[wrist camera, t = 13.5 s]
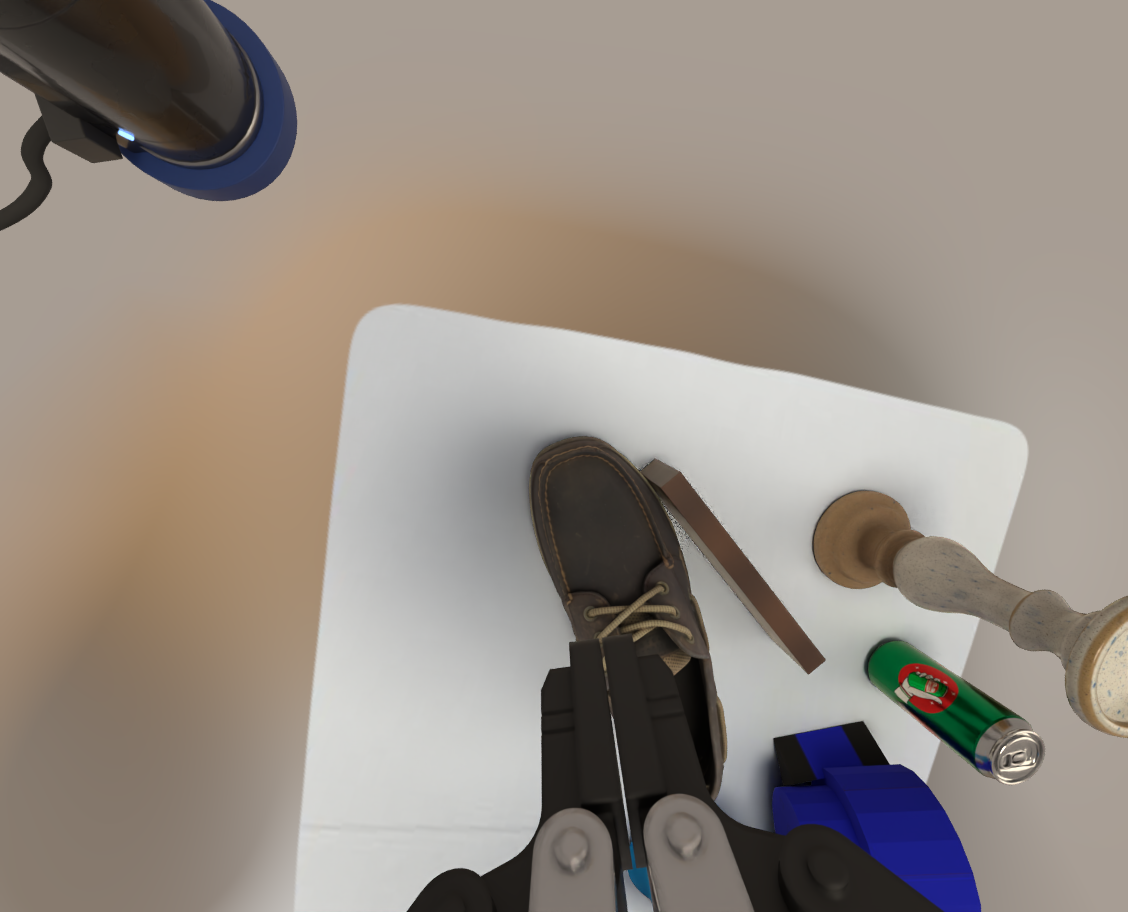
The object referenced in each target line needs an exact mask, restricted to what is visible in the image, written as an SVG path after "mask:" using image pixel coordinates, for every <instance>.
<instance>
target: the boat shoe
mask: <svg viewBox="0 0 1128 912" xmlns="http://www.w3.org/2000/svg"><path fill="white" fill-rule="evenodd" d="M529 497H530V508H531V516H532V521H533V527H534V531H535V536H536V539H537V543H538V546H539V550H540V553H541V556H542V559H543V561H544V563H545V566H546V568H547V570H548V572H549V574H550V576H551V578H552V580H553V583H554V585H555V588H556V590H557V592H558V594H559V596H560V597H561V600H562V603H563V606H564V609H565V611H566V612H567V615H568V617H569V619H570V621H571V624H572V628H573V631H574V634H575V636H576V641H582V640H589V639H596V638H599V641H600V647H601V654H602V660H603V667H604V673H605V680H606V686H607V693H608V700H609V706H610V712H611V714H612V716H613V710H612V703H611V697H610V690H609V683H608V676H607V670H606V663H605V656H604V650H603V643H602V637H609V636H616V635H623V634H630V633H631V634H632V637H633V641H634V645H635V650H636V654H637V657H640V656H647V655H654V654H659V656H660V657H661V658H662V659H663V660H664V662H665V663H666V664H667V665H668V666H669V668H670V669H671V670H672V671H673V675H674V678H675V682H676V685H677V688H678V692H679V697H680V699H681V702H682V706H683V709H684V714H685V716H686V719H687V723H688V726H689V730H690V733H691V736H692V740H693V743H694V747H695V750H696V753H697V757H698V760H699V764H700V767H701V771H702V774H703V777H704V781H705V784H706V787H707V790H708V792H709V794H710V796H711V797H712V799H713V800H715V799H716V797H717V795H718V793H719V790H720V787H721V782H722V774H723V768H724V766H723V764H724V762H725V761H726V758H727V735H726V726H725V719H724V711H723V706H722V704H721V701H720V699H719V698H718V696H717V691H716V686H715V682H714V676H713V669H712V662H711V657H710V654H709V642H708V638H707V634H706V631H705V627H704V623H703V620H702V616H701V612H700V608H699V605H698V603H697V601H696V599H695V597H694V596H693V595H692V593H691V588H690V582H689V577H688V572H687V568H686V564H685V561H684V557H683V554H682V551H681V548H680V545H679V542H678V540H677V536H676V533H675V530H674V527H673V525H672V522H671V520H670V518H669V516H668V514H667V512H666V510H665V508H664V506H663V504H662V503H661V501H660V499H659V497H658V496H657V494H656V492H655V491H654V489H653V488H652V486H651V485H650V484H649V482H648V481H647V479H646V478H645V477H644V476H643V475H642V474H641V473H640V471H639V470H638V469H637V468H636V467H635V466H634V465H633V464H632V463H631V462H630V461H629V460H628V459H627V458H626V457H625V456H623V455H622V454H621V453H619V452H618V451H617V450H616V449H615V448H613V447H612V446H611V445H609V444H608V443H606V442H604V441H602V440H600V439H598V438H594V437H587V436H579V437H572V438H567V439H564V440H561V441H558V442H556V443H554V444H552V445H549V446H548V447H546V448H544V449H543V450H542V451H541V452H540V453H539V454H538V455H537V457H536V458H535V460H534V462H533V465H532V468H531V473H530V480H529ZM613 718H614V717H613Z"/></svg>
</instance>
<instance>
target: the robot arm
mask: <svg viewBox="0 0 1128 912" xmlns="http://www.w3.org/2000/svg"><path fill="white" fill-rule="evenodd" d="M0 72H1V73H2V74H4V75H5V76H7V77H9V78H11V79H12V80H14V81H15V82H17V83H19V84H20V85H22V86H24V87H25V88H27V89H28V90H30V91H32V92H33V93H34V94H35V96H36V99H37V102H38V105H39V108H40V111H41V113H42V116H41V117H40V118H39V119H38V120H37V121H36V122H35V123H34V124H33V126H32V127H31V128H30V129H29V130H28V132H27V133H26V135H25V137H24V139H23V142H22V146H21V156H22V159H23V161H24V163H25V165H26V167H27V169H28V170H29V172H30V174H31V180H30V182H29V184H28V186H27V188H26V189H25V191H24V192H23V193H22V194H21V195H20V196H19V197H18V198H17V199H16V200H15V201H14V202H12V203H11V204H10V205H8V206H7V207H5V208H3V209H2V210H0V231H1V230H3V229H5V228H7V227H9V226H11V225H13V224H15V223H17V222H19V221H20V220H22V219H24V218H25V217H27V216H28V215H30V214H31V213H32V212H34V211H35V210H36V209H37V208H38V207H39V206H40V205H41V204H42V202H43V201H44V200H45V199H46V197H47V195H48V194H49V192H50V190H51V188H52V179H51V176H50V174H49V172H48V170H47V168H46V166H45V164H44V162H43V155H44V151H45V149H46V147H47V145H48V144H49V142H50V141H52V142H53V143H55V144H57V145H58V146H60V147H62V148H64V149H66V150H68V151H70V152H72V153H74V154H76V155H78V156H80V157H81V158H83V159H85V160H87V161H89V162H91V163H97V162H104V161H111V160H118V159H123V157H122V155H121V151H120V148H119V145H121V146H122V147H124V148H126V149H127V150H129V151H131V152H132V153H142V152H148V153H150V154H152V155H154V156H155V157H157V158H159V159H161V160H163V161H165V162H167V163H169V164H172V165H175V166H178V167H182V168H187V169H198V170H203V169H212V168H217V167H220V166H223V165H226V164H228V163H230V162H232V161H234V160H236V159H237V158H238V157H240V156H241V155H242V154H243V153H244V152H245V151H247V149H248V148H249V147H250V146H251V145H252V143H253V142H254V140H255V138H256V136H257V134H258V132H259V129H260V127H261V123H262V119H263V111H264V98H263V91H262V86H261V82H260V79H259V76H258V74H257V71H256V69H255V67H254V65H253V63H252V61H251V59H250V58H249V56H248V55H247V53H246V52H245V51H244V49H243V48H242V47H241V45H240V44H239V43H238V42H237V40H236V39H235V38H234V37H233V36H232V35H231V33H230V32H229V31H228V30H227V29H226V28H225V27H224V26H223V25H222V24H221V22H220V21H219V20H218V18H217V17H216V16H215V15H214V13H213V12H212V10H211V9H210V8H209V7H208V5H207V4H206V3H205V2H204V0H0ZM118 144H119V145H118ZM602 643H603V650H604V656H605V663H606V670H607V676H608V683H609V690H610V697H611V703H612V710H613V717H614V724H615V730H616V737H617V744H618V750H619V757H620V764H621V771H622V777H623V784H624V791H625V797H626V804H627V811H628V817H629V824H630V830H631V837H632V843H633V850H634V857H635V863H636V868H644V867H647V873H648V879H649V886H650V892H651V898H652V904H653V911H654V912H944V911H943V910H941V909H940V908H939V907H937V906H936V905H935V904H934V903H932V902H931V901H930V900H928V899H927V898H926V897H924V896H923V895H922V894H920V893H919V892H918V891H916V890H915V889H914V888H913V887H911V886H910V885H909V884H907V883H906V882H905V881H903V880H902V879H901V878H899V877H898V876H897V875H895V874H894V873H893V872H892V871H890V870H889V869H888V868H886V867H885V866H884V865H882V864H881V863H880V862H878V861H877V860H876V859H874V858H873V857H872V856H871V855H869V854H868V853H867V852H865V851H864V850H863V849H861V848H860V847H859V846H857V845H856V844H855V843H853V842H852V841H851V840H850V839H848V838H847V837H845V836H844V835H843V834H841V833H840V832H838V831H836V830H834V829H832V828H829V827H826V826H823V825H818V824H804V825H800V826H797V827H795V828H793V829H792V830H791V831H789V832H788V834H787V835H786V836H785V835H781V834H776V833H772V832H768V831H764V830H759V829H755V828H751V827H748V826H745V825H743V824H741V823H739V822H737V821H735V820H733V819H732V818H730V817H729V816H728V815H727V814H725V813H724V812H723V811H722V810H721V809H720V808H719V807H718V806H717V805H716V803H715V802H714V800H713V799H712V797H711V796H710V794H709V792H708V790H707V787H706V784H705V781H704V777H703V774H702V771H701V767H700V764H699V760H698V757H697V753H696V750H695V747H694V743H693V740H692V736H691V733H690V730H689V726H688V723H687V719H686V716H685V714H684V709H683V706H682V702H681V699H680V697H679V692H678V688H677V685H676V682H675V678H674V675H673V671H672V670H671V669H670V668H669V666H668V665H667V664H666V663H665V662H664V660H663V659H662V658H661V657H660V656H659V654H654V655H647V656H640V657H637V654H636V650H635V645H634V641H633V637H632V634H631V633H630V634H623V635H616V636H609V637H602ZM569 651H570V665H571V667H563V668H556V669H550V670H549V673H548V675H547V677H546V680H545V682H544V684H543V687H542V689H541V713H542V717H541V731H542V736H541V747H542V811H541V818H540V822H539V825H538V828H537V830H536V832H535V834H534V836H533V838H532V839H531V841H530V842H529V844H528V845H527V846H526V847H525V849H524V850H523V851H522V852H521V853H519V854H518V855H517V856H516V857H514V858H513V859H511V860H510V861H508V862H506V863H504V864H502V865H501V866H499V867H497V868H495V869H493V870H492V871H490V872H488V873H486V874H484V875H483V876H481V877H480V876H479V875H478V874H477V873H475V872H474V871H471V870H469V869H463V868H457V869H452V870H448V871H446V872H444V873H441V874H440V875H438V876H437V877H435V878H434V879H433V880H432V881H431V882H430V883H429V884H427V886H426V887H425V888H424V889H423V890H422V892H421V893H420V894H419V896H418V897H417V898H416V900H415V901H414V902H413V904H412V905H411V906H410V908H409V909H408V911H407V912H628V911H627V901H626V894H625V886H624V878H623V871H624V870H631V869H633V866H632V859H631V852H630V846H629V839H628V832H627V825H626V818H625V811H624V804H623V797H622V790H621V783H620V776H619V769H618V762H617V755H616V748H615V741H614V734H613V727H612V720H611V713H610V706H609V700H608V693H607V686H606V680H605V673H604V667H603V660H602V654H601V647H600V641H599V638H596V639H589V640H582V641H575V642H569Z"/></svg>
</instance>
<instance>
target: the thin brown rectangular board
mask: <svg viewBox="0 0 1128 912" xmlns="http://www.w3.org/2000/svg"><path fill="white" fill-rule="evenodd" d="M640 473H641V474H642V475H643V476H644V477H645V478H646V479H647V481H648V482H649V484H650V485H651V486H652V488H653V489H654V491H655V492H656V494H657V496H658V497H659V499H660V500H661V501H662V503H663V504H664V505H665V506H666V508H667V509H668V510H669V511H670V513H671V514H672V515H673V516H674V518H675V519H676V520H677V521H678V523H679V524H680V525H681V526H682V528H683V529H684V530H685V531H686V533H687V534H688V535H689V536H690V538H691V539H692V540H693V541H694V543H695V544H696V545H697V546H698V548H699V549H700V550H701V551H702V553H703V554H704V555H705V557H706V558H707V559H708V560H709V562H710V563H711V564H712V565H713V567H714V568H715V569H716V570H717V572H718V573H719V574H720V575H721V577H722V578H723V579H724V580H725V582H726V583H727V584H728V585H729V587H730V588H731V589H732V590H733V592H734V593H735V594H736V595H737V597H738V598H739V599H740V600H741V602H742V603H743V604H744V605H745V607H746V608H747V609H748V610H749V612H750V613H751V614H752V615H753V617H754V618H755V619H756V620H757V622H758V623H759V624H760V625H761V627H762V628H763V629H764V631H765V632H766V633H767V634H768V636H769V637H770V638H771V639H772V640H773V641H774V642H775V643H776V644H777V645H778V646H779V647H780V648H781V649H782V650H783V651H784V652H785V653H786V654H787V655H789V656H790V657H791V658H792V659H793V660H794V661H795V662H796V663H797V664H798V665H799V666H800V667H801V668H802V669H803V670H804V671H805V672H806V673H807V674H810V673H811V672H812V671H813V670H815V669H816V668H817V667H818V666H819V665H821V664H822V663H823V662H824V661H825V658H824V657H823V656H822V654H821V653H820V652H819V651H818V649H817V648H816V647H815V645H814V644H813V643H812V642H811V640H810V639H809V638H808V636H807V635H806V634H805V632H804V631H803V630H802V629H801V627H800V626H799V625H798V623H797V622H796V621H795V620H794V618H793V617H792V616H791V614H790V613H789V612H788V610H787V609H786V608H785V607H784V605H783V604H782V603H781V601H780V600H779V599H778V598H777V596H776V595H775V594H774V592H773V591H772V590H771V588H770V587H769V586H768V585H767V583H766V582H765V581H764V579H763V578H762V577H761V576H760V574H759V573H758V572H757V570H756V569H755V568H754V567H753V565H752V564H751V563H750V561H749V560H748V559H747V557H746V556H745V555H744V554H743V552H742V551H741V550H740V548H739V547H738V546H737V545H736V543H735V542H734V541H733V539H732V538H731V537H730V535H729V534H728V533H727V532H726V530H725V529H724V528H723V526H722V525H721V524H720V523H719V521H718V520H717V519H716V517H715V516H714V515H713V513H712V512H711V511H710V510H709V508H708V507H707V506H706V504H705V503H704V502H703V501H702V499H701V498H700V497H699V495H698V494H697V493H696V491H695V490H694V489H693V488H692V486H691V485H690V484H689V482H688V481H687V480H686V479H685V477H684V476H683V475H682V473H681V472H680V471H678V470H676V469H674V468H672V467H670V466H668V465H666V464H665V463H663V462H661V461H659V460H657V459H655V460H653V461H652V462H651V463H650V464H649V465H647V466H646V467H645V468H644V469H643V470H641V471H640Z"/></svg>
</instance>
